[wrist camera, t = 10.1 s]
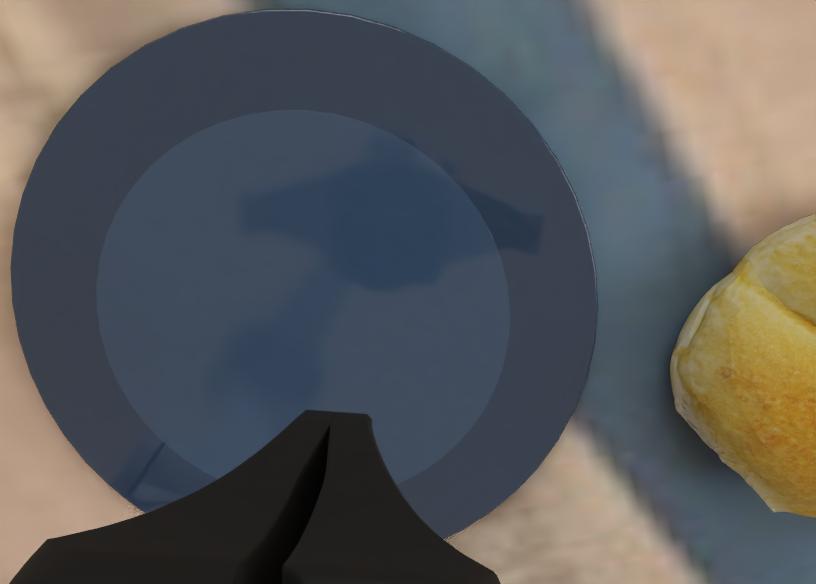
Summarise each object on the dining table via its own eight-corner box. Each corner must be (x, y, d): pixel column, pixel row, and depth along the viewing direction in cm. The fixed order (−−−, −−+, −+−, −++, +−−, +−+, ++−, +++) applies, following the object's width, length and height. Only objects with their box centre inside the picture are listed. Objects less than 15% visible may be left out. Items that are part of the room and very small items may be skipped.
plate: (555, 574, 24) (558, 585, 23) (47, 538, 24) (39, 548, 23) (638, 31, 18) (644, 30, 18) (-14, -11, 19) (-27, -13, 18)
